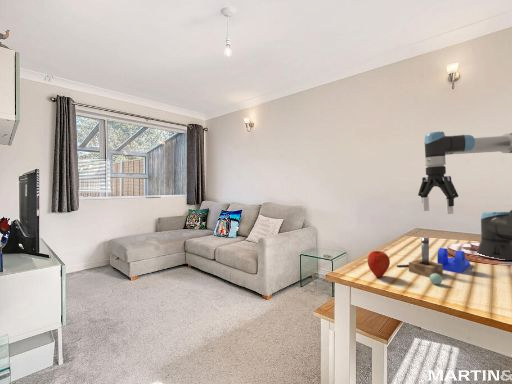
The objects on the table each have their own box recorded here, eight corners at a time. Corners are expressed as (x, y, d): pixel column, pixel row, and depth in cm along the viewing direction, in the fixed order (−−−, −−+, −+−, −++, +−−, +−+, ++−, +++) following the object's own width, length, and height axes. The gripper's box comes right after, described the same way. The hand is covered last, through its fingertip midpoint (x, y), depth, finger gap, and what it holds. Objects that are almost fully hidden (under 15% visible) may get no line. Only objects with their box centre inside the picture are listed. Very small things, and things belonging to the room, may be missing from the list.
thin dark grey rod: (425, 265, 119) (425, 263, 119) (427, 265, 118) (427, 264, 118) (396, 266, 118) (396, 265, 118) (397, 267, 117) (397, 265, 117)
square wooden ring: (420, 267, 115) (420, 259, 115) (442, 273, 108) (442, 264, 107) (408, 271, 111) (408, 262, 111) (431, 277, 103) (431, 268, 103)
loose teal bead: (436, 281, 99) (436, 271, 99) (445, 285, 95) (445, 275, 95) (427, 282, 99) (427, 272, 99) (434, 286, 95) (434, 275, 95)
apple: (392, 281, 101) (392, 254, 100) (369, 279, 103) (368, 253, 103) (387, 273, 109) (387, 249, 108) (366, 272, 111) (366, 248, 111)
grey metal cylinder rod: (426, 271, 111) (425, 237, 110) (430, 273, 108) (430, 238, 108) (420, 271, 111) (419, 237, 110) (424, 273, 108) (424, 238, 107)
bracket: (460, 274, 107) (460, 252, 107) (437, 269, 114) (437, 249, 113) (471, 264, 118) (471, 245, 118) (450, 260, 125) (450, 242, 124)
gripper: (408, 168, 129) (410, 210, 129) (451, 164, 104) (453, 215, 104) (422, 167, 129) (424, 209, 130) (467, 163, 105) (469, 214, 105)
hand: (437, 212), depth 117 cm, fingers open, 13 cm apart
